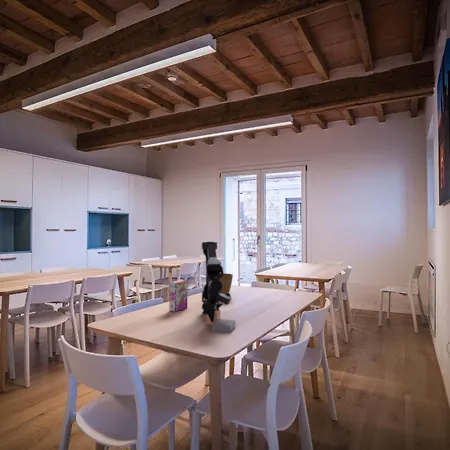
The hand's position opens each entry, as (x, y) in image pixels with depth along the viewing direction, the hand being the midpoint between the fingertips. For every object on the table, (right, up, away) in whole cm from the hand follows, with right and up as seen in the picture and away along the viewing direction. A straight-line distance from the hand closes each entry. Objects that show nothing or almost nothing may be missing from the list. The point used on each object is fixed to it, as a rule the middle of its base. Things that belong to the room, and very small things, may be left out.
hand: (213, 320), depth 163 cm
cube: (0, -2, 0) cm, 2 cm away
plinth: (+5, -1, -9) cm, 10 cm away
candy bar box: (-21, -2, +28) cm, 35 cm away
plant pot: (+3, -3, +59) cm, 59 cm away
